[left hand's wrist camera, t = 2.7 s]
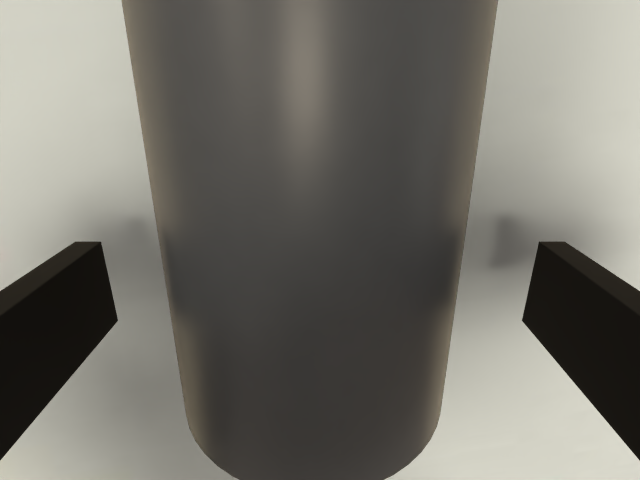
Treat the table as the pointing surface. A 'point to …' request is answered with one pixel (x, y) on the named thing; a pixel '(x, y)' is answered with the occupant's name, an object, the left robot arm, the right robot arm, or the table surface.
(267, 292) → the rod
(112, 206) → the table surface
